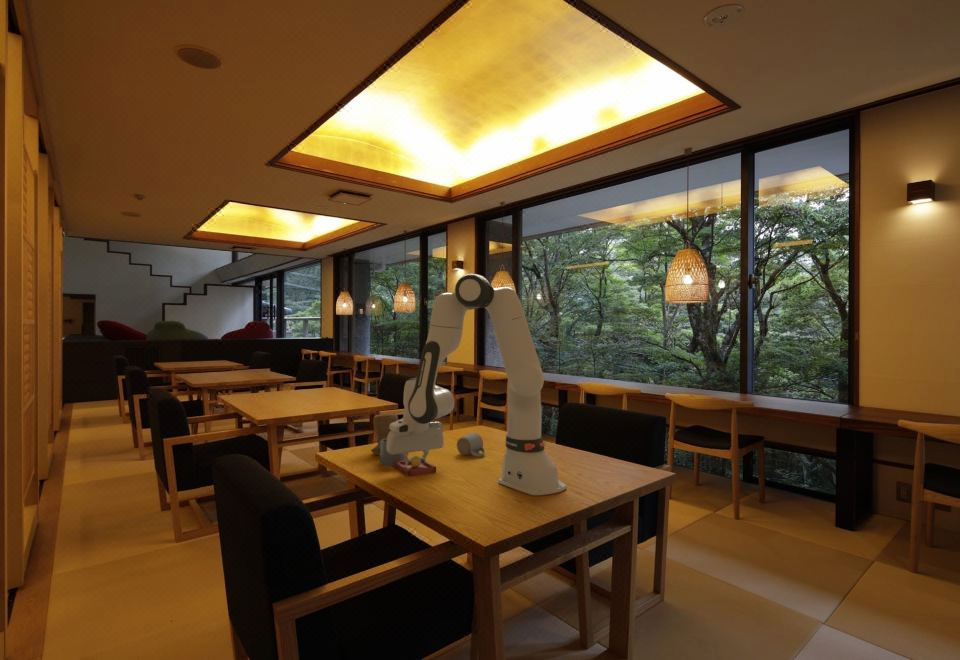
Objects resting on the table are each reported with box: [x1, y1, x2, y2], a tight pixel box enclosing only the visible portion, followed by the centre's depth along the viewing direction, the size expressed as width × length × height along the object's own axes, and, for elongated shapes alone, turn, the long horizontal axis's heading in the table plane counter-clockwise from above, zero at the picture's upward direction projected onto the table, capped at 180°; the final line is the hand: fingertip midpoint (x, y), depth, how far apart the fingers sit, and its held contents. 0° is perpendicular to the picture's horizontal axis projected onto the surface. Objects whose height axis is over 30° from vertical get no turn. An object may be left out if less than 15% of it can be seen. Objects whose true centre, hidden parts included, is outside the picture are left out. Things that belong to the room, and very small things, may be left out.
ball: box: [409, 455, 421, 468], centre depth 167 cm, size 4×4×4 cm
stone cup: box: [370, 412, 399, 457], centre depth 189 cm, size 15×12×15 cm
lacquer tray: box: [394, 460, 437, 478], centre depth 167 cm, size 12×10×2 cm
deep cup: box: [379, 438, 405, 467], centre depth 175 cm, size 8×8×8 cm
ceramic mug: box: [456, 432, 486, 458], centre depth 188 cm, size 11×8×8 cm
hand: (415, 463), depth 167 cm, fingers closed on ball, 4 cm apart
